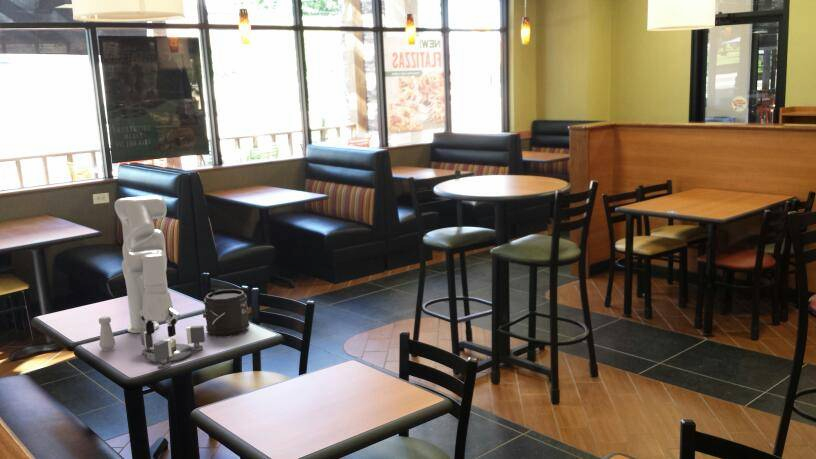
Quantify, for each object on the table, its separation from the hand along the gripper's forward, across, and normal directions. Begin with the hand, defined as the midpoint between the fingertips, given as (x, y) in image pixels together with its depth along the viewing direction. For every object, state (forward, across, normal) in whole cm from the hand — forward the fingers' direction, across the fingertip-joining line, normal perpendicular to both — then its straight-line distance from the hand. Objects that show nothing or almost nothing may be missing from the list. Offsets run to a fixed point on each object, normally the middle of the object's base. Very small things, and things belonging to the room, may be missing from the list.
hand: (161, 335), depth 262 cm
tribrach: (+12, -5, +8) cm, 15 cm away
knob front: (+11, -1, 0) cm, 11 cm away
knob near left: (+10, -1, +19) cm, 21 cm away
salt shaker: (+11, -35, +9) cm, 38 cm away
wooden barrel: (+12, -3, +41) cm, 43 cm away
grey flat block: (+10, -16, +10) cm, 21 cm away
